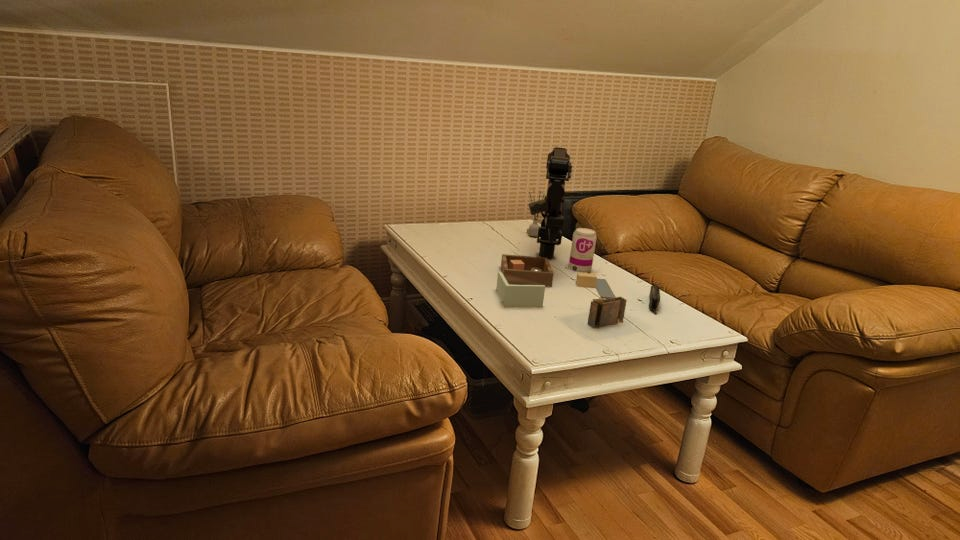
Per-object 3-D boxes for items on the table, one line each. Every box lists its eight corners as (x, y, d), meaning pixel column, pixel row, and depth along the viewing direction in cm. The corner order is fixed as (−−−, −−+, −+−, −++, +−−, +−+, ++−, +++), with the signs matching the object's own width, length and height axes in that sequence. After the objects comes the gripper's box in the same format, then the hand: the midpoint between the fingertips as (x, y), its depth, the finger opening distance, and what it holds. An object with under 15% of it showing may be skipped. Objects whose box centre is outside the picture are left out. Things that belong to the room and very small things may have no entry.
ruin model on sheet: (593, 330, 171) (599, 298, 168) (587, 325, 174) (592, 294, 170) (623, 324, 177) (629, 293, 174) (616, 320, 179) (621, 290, 176)
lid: (556, 278, 209) (558, 264, 208) (604, 282, 210) (607, 268, 208) (563, 297, 194) (565, 282, 192) (615, 301, 194) (618, 286, 192)
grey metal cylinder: (529, 278, 203) (530, 267, 202) (539, 278, 203) (541, 267, 202) (530, 282, 200) (531, 270, 198) (540, 282, 200) (542, 271, 198)
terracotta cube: (508, 270, 208) (509, 260, 207) (519, 270, 209) (520, 259, 208) (512, 275, 204) (513, 264, 203) (523, 274, 206) (524, 263, 204)
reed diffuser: (544, 239, 251) (550, 192, 244) (530, 240, 248) (535, 192, 241) (531, 232, 259) (537, 186, 252) (517, 233, 256) (523, 186, 249)
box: (500, 268, 212) (502, 254, 210) (545, 272, 212) (547, 257, 210) (502, 285, 196) (504, 269, 195) (551, 289, 197) (553, 273, 195)
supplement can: (590, 275, 213) (597, 235, 208) (567, 272, 214) (573, 232, 209) (591, 268, 221) (597, 229, 216) (568, 265, 222) (574, 226, 217)
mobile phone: (650, 283, 198) (651, 298, 184) (659, 285, 197) (661, 300, 183) (647, 297, 199) (648, 313, 185) (657, 299, 199) (658, 315, 185)
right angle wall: (542, 309, 182) (545, 286, 180) (503, 309, 180) (506, 285, 178) (532, 293, 194) (534, 272, 191) (495, 293, 191) (498, 271, 189)
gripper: (529, 186, 213) (524, 229, 218) (534, 199, 196) (528, 244, 201) (560, 189, 214) (554, 231, 219) (568, 201, 196) (561, 247, 201)
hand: (549, 238), depth 210 cm, fingers open, 9 cm apart
